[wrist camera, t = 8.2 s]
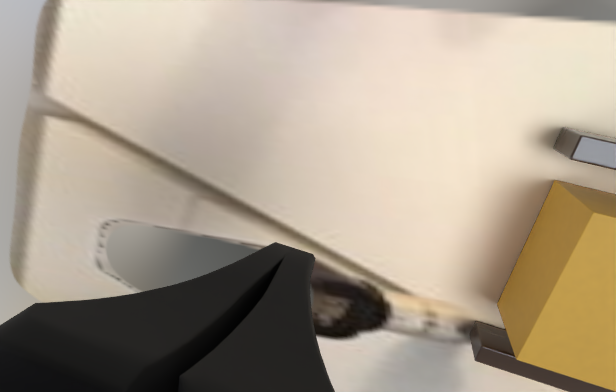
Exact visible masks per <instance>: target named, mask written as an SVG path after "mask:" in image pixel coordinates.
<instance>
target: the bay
mask: <svg viewBox="0 0 616 392" xmlns="http://www.w3.org/2000/svg"><path fill="white" fill-rule="evenodd" d="M554 149H555V150H556V151H558V152H559V153H561V154H563V155H564V156H566V157H568V158H569V159H571V160H575V161H579V162H584V163H588V164H592V165H597V166H601V167H605V168H610V169H614V170H616V138H611V137H607V136H602V135H598V134H593V133H589V132H584V131H580V130H575V129H570V128H566V127H563V128H562V130H561V132H560V134H559V137H558V139H557V141H556V143H555V146H554ZM470 339H471V344H472V349H473V354H474V358H475V361H477V362H480V363H483V364H486V365H489V366H492V367H495V368H498V369H501V370H505V371H508V372H511V373H514V374H517V375H520V376H523V377H526V378H529V379H532V380H535V381H538V382H541V383H544V384H547V385H550V386H553V387H556V388H559V389H562V390H565V391H568V392H616V391H613V390H610V389H606V388H603V387H600V386H597V385H594V384H591V383H588V382H585V381H582V380H578V379H575V378H572V377H569V376H566V375H563V374H560V373H557V372H554V371H550V370H547V369H544V368H541V367H538V366H535V365H532V364H529V363H526V362H522V361H519V360H517V359H516V357H515V354H514V352H513V349H512V346H511V343H510V340H509V337H508V334H507V331H506V330H503V329H500V328H496V327H493V326H490V325H487V324H484V323H480V322H477V321H476V322H475V324H474V326H473V328H472V330H471V333H470Z"/></svg>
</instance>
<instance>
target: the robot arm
mask: <svg viewBox="0 0 616 392" xmlns="http://www.w3.org/2000/svg"><path fill="white" fill-rule="evenodd" d="M314 262H315V257H314V255H313V254H311V253H308V252H305V251H301V250H298V249H295V248H292V247H289V246H286V245H283V244H279V243H276V242H275V243H273V244H271V245H269V246H267V247H265V248H263V249H261V250H259V251H257V252H255V253H253V254H251V255H249V256H247V257H245V258H243V259H241V260H239V261H237V262H235V263H233V264H230V265H228V266H226V267H223V268H221V269H219V270H216V271H213V272H211V273H209V274H206V275H203V276H201V277H198V278H195V279H192V280H188V281H185V282H182V283H179V284H175V285H172V286H167V287H163V288H158V289H154V290H149V291H145V292H140V293H135V294H129V295H123V296H116V297H109V298H101V299H92V300H81V301H65V302H49V303H35V304H33V305H32V306H30V307H28V308H27V309H25V310H24V311H22V312H21V313H19V314H17V315H16V316H14V317H13V318H11V319H9V320H8V321H6V322H5V323H3V324H2V325H0V392H335V391H334V389H333V386H332V384H331V382H330V379H329V376H328V374H327V371H326V368H325V365H324V362H323V359H322V356H321V354H320V350H319V346H318V342H317V339H316V334H315V329H314V324H313V318H312V311H311V301H310V278H311V274H312V270H313V266H314Z"/></svg>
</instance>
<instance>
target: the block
mask: <svg viewBox="0 0 616 392" xmlns="http://www.w3.org/2000/svg"><path fill="white" fill-rule="evenodd" d="M497 306H498V308H499V311H500V314H501V317H502V320H503V323H504V326H505V329H506V331H507V334H508V337H509V340H510V343H511V346H512V349H513V352H514V354H515V357H516V359H517V360H519V361H522V362H526V363H529V364H532V365H535V366H538V367H541V368H544V369H547V370H550V371H554V372H557V373H560V374H563V375H566V376H569V377H572V378H575V379H578V380H582V381H585V382H588V383H591V384H594V385H597V386H600V387H603V388H606V389H610V390H613V391H616V195H615V194H611V193H607V192H603V191H599V190H595V189H590V188H586V187H582V186H578V185H574V184H570V183H566V182H561V181H557V180H555V181H554V183H553V185H552V187H551V189H550V191H549V194H548V196H547V198H546V200H545V202H544V204H543V206H542V209H541V211H540V213H539V215H538V217H537V219H536V222H535V224H534V226H533V228H532V230H531V232H530V234H529V237H528V239H527V241H526V243H525V245H524V247H523V250H522V252H521V254H520V256H519V258H518V260H517V263H516V265H515V267H514V269H513V271H512V273H511V275H510V278H509V280H508V282H507V284H506V286H505V288H504V291H503V293H502V295H501V297H500V299H499V301H498V303H497Z"/></svg>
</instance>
